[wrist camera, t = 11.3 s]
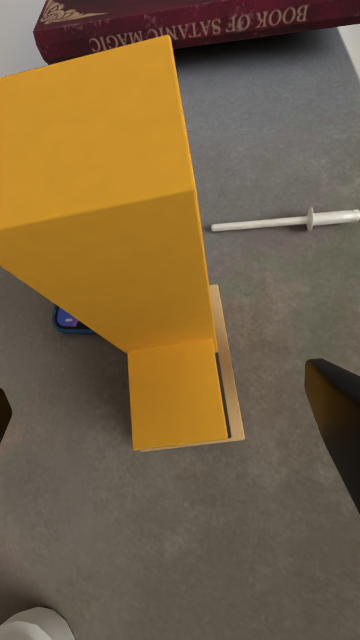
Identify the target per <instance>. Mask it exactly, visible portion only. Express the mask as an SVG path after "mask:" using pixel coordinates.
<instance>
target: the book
mask: <svg viewBox="0 0 360 640" xmlns="http://www.w3.org/2000/svg"><path fill="white" fill-rule="evenodd" d="M353 24H360V0H46V2H45V5H44V7H43V9H42V12H41V14H40V17H39V19H38V21H37V24H36V26H35V28H34V31H33V33H34V37H35V41H36V45H37V47H38V49H39V51H40V53H41V55H42V57H43V59H44V60H45V62H46V63H47V64H48V65H51V64H55V63H59V62H63V61H67V60H71V59H75V58H79V57H83V56H86V55H90V54H94V53H98V52H102V51H106V50H110V49H114V48H118V47H121V46H125V45H129V44H133V43H137V42H141V41H145V40H149V39H153V38H157V37H160V36H164V35H169V36H170V38H171V42H172V48H173V49H178V48H185V47H192V46H200V45H207V44H214V43H222V42H229V41H236V40H244V39H251V38H258V37H265V36H273V35H280V34H287V33H295V32H302V31H309V30H317V29H324V28H331V27H339V26H345V25H353Z"/></svg>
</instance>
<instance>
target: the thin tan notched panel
mask: <svg viewBox="0 0 360 640" xmlns="http://www.w3.org/2000/svg"><path fill="white" fill-rule="evenodd" d="M209 288H210V296H211V303H212V311H213V318H214V326H215V333H216V340H217V348H218V355H219V361H220V367H221V373H222V379H223V386H224V392H225V398H226V404H227V410H228V416H229V423H230V429H231V435H232V437H231V438H228V439H226V440H217V441H209V442H200V443H192V444H183V445H175V446H166V447H158V448H150V449H141V450H139V451H140V452H146V451H154V450H163V449H171V448H180V447H188V446H197V445H205V444H214V443H222V442H231V441H240V440H245V436H244V430H243V424H242V419H241V413H240V407H239V402H238V396H237V390H236V385H235V379H234V373H233V367H232V362H231V356H230V350H229V345H228V339H227V333H226V328H225V322H224V316H223V311H222V305H221V299H220V294H219V288H218V284H214V285H209Z"/></svg>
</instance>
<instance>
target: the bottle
mask: <svg viewBox="0 0 360 640" xmlns="http://www.w3.org/2000/svg"><path fill="white" fill-rule="evenodd" d="M0 640H75V638H74V636H73V634H72V632H71V630H70V628H69V626H68V624H67V622H66V621H65V620H64V619H63V618H62V617H61V616H60V615H59V614H57V613H56V612H55V611H54V610H52V609H47V608H42V607H35V608H32V609H28V610H25V611H22V612H19V613H17V614H15V615H13V616H12V617H10V618H9V619H8V620H7V621H5V622H4V623H3V624H2V625H1V626H0Z"/></svg>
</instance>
